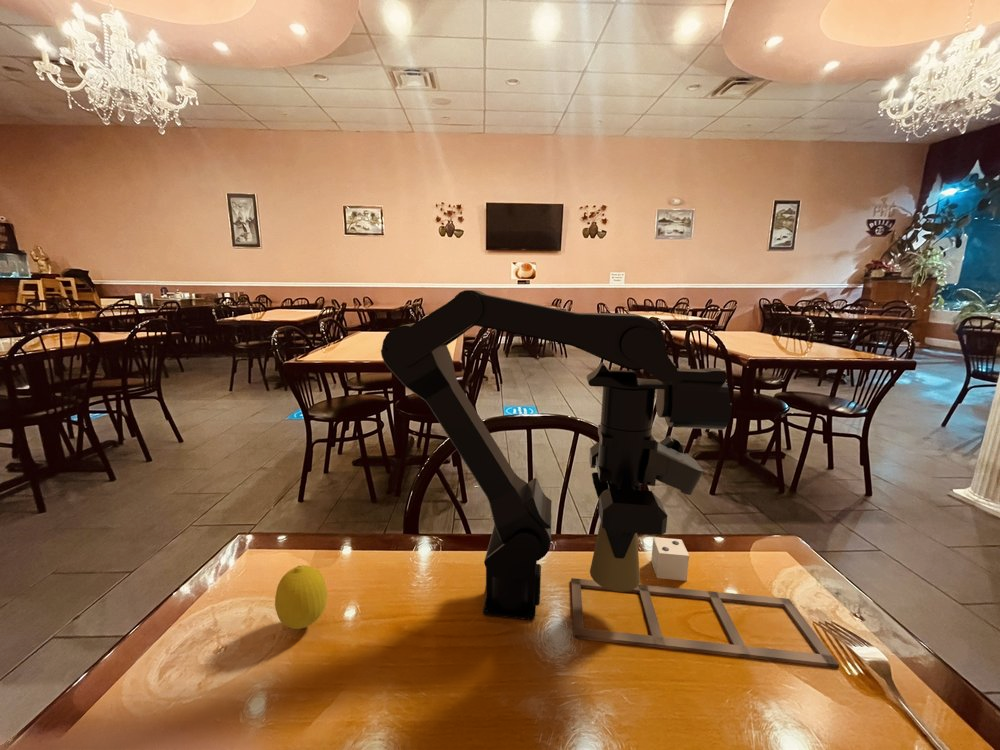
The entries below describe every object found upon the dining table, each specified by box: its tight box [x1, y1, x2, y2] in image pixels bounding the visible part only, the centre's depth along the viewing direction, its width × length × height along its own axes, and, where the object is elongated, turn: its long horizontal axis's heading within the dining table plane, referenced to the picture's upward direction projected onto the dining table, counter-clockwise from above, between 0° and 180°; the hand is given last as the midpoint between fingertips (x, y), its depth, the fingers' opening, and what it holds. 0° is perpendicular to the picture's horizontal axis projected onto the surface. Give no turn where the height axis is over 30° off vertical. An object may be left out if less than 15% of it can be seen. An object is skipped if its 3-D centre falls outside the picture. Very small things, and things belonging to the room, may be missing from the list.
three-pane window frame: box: [570, 577, 840, 669], centre depth 53 cm, size 28×10×1 cm, turn 82°
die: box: [650, 536, 690, 582], centre depth 62 cm, size 4×4×4 cm
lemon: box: [274, 564, 328, 630], centre depth 50 cm, size 6×6×8 cm
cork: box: [589, 490, 641, 593], centre depth 52 cm, size 6×6×11 cm
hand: (616, 546), depth 52 cm, fingers closed on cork, 4 cm apart
